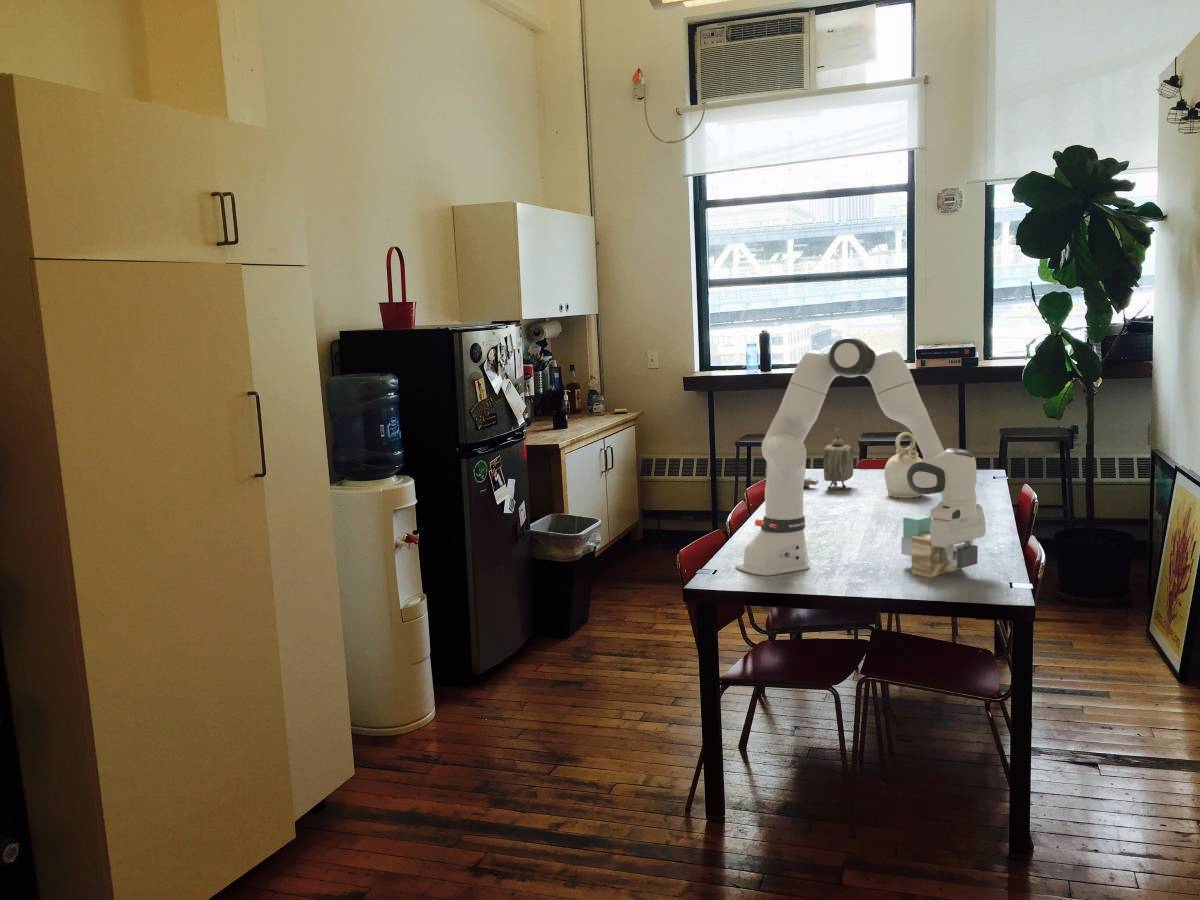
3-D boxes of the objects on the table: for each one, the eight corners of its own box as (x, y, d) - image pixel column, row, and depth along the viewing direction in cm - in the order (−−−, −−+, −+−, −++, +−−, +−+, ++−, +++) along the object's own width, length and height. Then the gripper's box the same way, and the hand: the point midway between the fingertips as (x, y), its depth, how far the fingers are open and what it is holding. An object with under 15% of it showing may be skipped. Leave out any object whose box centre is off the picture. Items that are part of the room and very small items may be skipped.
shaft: (961, 568, 267) (962, 550, 266) (899, 554, 284) (899, 537, 283) (977, 563, 271) (977, 545, 270) (914, 550, 288) (914, 533, 287)
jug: (929, 499, 377) (929, 433, 374) (887, 499, 380) (887, 434, 376) (922, 491, 392) (923, 428, 389) (882, 492, 395) (882, 429, 391)
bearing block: (929, 577, 272) (930, 540, 270) (911, 573, 277) (911, 536, 275) (961, 568, 280) (961, 532, 278) (942, 564, 284) (943, 528, 283)
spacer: (918, 540, 278) (918, 519, 278) (903, 537, 282) (903, 517, 282) (931, 537, 282) (931, 516, 281) (916, 534, 286) (916, 514, 285)
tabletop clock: (832, 485, 414) (831, 425, 410) (854, 485, 410) (853, 425, 406) (823, 491, 401) (823, 429, 397) (846, 492, 397) (846, 430, 393)
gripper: (971, 501, 278) (971, 549, 280) (925, 512, 267) (925, 562, 269) (992, 504, 273) (991, 553, 275) (946, 515, 261) (945, 566, 263)
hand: (958, 557), depth 272 cm, fingers closed on shaft, 5 cm apart
